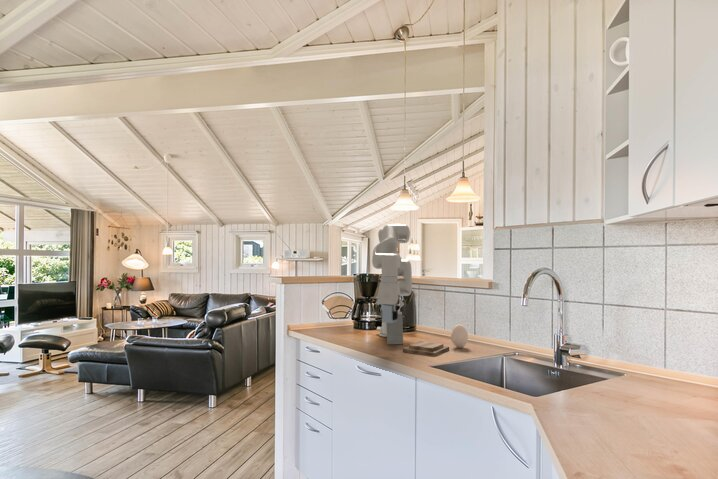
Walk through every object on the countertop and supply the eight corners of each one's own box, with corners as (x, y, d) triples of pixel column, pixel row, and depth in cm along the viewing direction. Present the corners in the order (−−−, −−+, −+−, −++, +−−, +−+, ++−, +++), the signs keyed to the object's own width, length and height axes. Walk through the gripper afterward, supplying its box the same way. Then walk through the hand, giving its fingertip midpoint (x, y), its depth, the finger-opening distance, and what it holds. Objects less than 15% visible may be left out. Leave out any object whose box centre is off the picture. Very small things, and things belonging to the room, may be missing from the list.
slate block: (382, 322, 206) (382, 305, 206) (387, 320, 210) (387, 303, 210) (391, 323, 203) (391, 305, 203) (396, 321, 207) (396, 304, 207)
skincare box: (403, 342, 227) (402, 311, 227) (403, 345, 220) (403, 313, 220) (386, 342, 228) (386, 311, 228) (386, 344, 221) (386, 312, 221)
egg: (449, 348, 212) (449, 324, 212) (453, 345, 219) (453, 322, 219) (465, 350, 208) (465, 325, 209) (469, 347, 215) (469, 323, 216)
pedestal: (402, 351, 204) (402, 345, 204) (418, 346, 217) (418, 340, 217) (434, 356, 195) (434, 349, 195) (449, 350, 208) (449, 343, 208)
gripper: (370, 280, 209) (369, 318, 208) (401, 281, 199) (401, 321, 199) (378, 279, 215) (378, 316, 214) (409, 280, 205) (409, 319, 205)
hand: (389, 318), depth 207 cm, fingers closed on slate block, 5 cm apart
